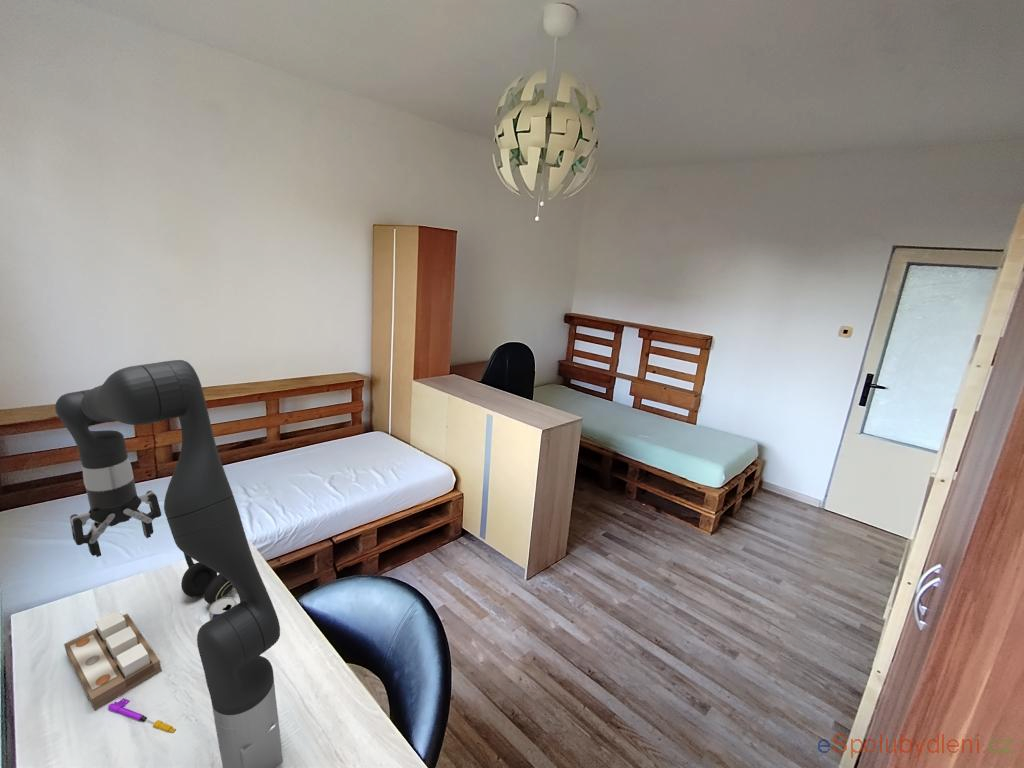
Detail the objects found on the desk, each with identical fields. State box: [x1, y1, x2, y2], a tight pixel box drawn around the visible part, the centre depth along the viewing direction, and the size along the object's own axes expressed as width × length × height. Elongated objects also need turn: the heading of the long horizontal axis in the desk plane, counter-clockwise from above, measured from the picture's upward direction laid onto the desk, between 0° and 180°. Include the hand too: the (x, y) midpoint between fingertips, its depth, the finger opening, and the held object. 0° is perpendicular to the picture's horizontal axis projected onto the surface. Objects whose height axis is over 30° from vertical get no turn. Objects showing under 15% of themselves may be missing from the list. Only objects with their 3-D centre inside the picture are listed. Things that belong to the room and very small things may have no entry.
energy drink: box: [208, 596, 238, 621], centre depth 101 cm, size 5×5×12 cm
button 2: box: [116, 643, 150, 678], centre depth 94 cm, size 4×4×3 cm
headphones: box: [180, 552, 235, 605], centre depth 114 cm, size 9×15×20 cm, turn 74°
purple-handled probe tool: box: [107, 697, 177, 734], centre depth 87 cm, size 3×1×16 cm
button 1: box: [95, 610, 127, 641], centre depth 101 cm, size 4×4×3 cm
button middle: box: [105, 626, 138, 659], centre depth 97 cm, size 4×4×3 cm
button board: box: [63, 613, 163, 711], centre depth 97 cm, size 20×11×4 cm, turn 55°
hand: (123, 545), depth 97 cm, fingers open, 8 cm apart
